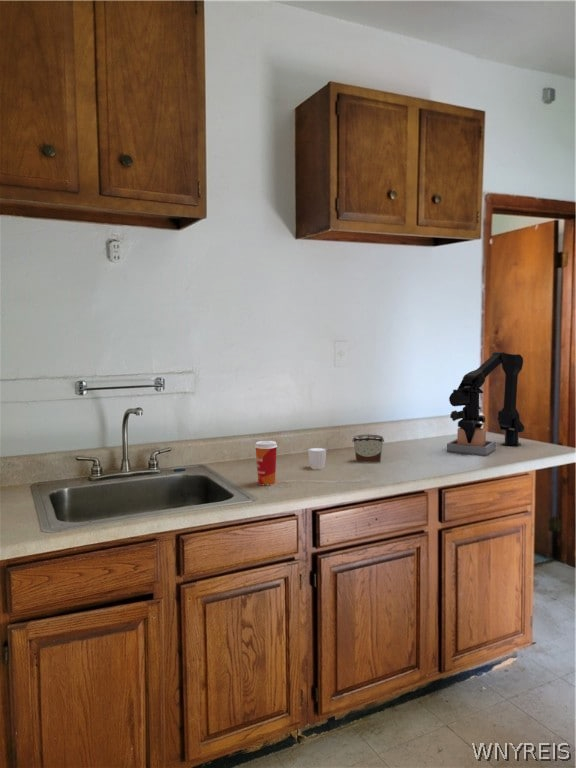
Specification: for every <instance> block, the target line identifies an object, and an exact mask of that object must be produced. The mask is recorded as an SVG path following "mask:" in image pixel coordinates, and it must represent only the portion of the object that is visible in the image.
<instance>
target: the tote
mask: <svg viewBox="0 0 576 768" xmlns="http://www.w3.org/2000/svg"><path fill="white" fill-rule="evenodd" d="M456 437H457V438H456V439H457V444H460V445H470V446H480V447H484V446H485V445H486V441H487V428H483V427H481V428H476V430H475V433H474V436H473V438H472V441H471V443H468V441H467V438H466V434H465V431H464V430H463V429H462V428H460V427H458V428H457V436H456Z"/></svg>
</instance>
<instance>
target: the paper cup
mask: <svg viewBox="0 0 576 768" xmlns="http://www.w3.org/2000/svg"><path fill="white" fill-rule="evenodd" d="M277 448H278V445H277V442H276V441H274V440H260V441H256V442H255V445H254V449H255V457H256V471H257V481H258V485H259V484H265V485H267V484H274V483H275V484H276V471H277ZM275 484H274V485H275Z"/></svg>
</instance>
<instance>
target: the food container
mask: <svg viewBox="0 0 576 768" xmlns="http://www.w3.org/2000/svg"><path fill="white" fill-rule="evenodd" d="M352 443H353V445H354V456H355V463H361V462H382V461H381V460H382V451H383V443H385V438H384V436H382V435H380V434H379V435H378V434H371V433H369V434H357V435H354V436H353V438H352Z"/></svg>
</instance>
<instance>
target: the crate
mask: <svg viewBox="0 0 576 768" xmlns="http://www.w3.org/2000/svg"><path fill="white" fill-rule="evenodd" d="M495 451H496V441H490V440H489V441H488V440H486V445H485V446H484V447H480V446H470V445H460V444H457V438H455V439H454V440H451V441H450V442H448V443H446V452H447V453H451V454H452V453H453V454H460V455H461V454H462V455H463V454H464V455H470V456H480V457H481V456H482V457H487V456H489V455H490V454H492V453H493V452H495Z"/></svg>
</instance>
